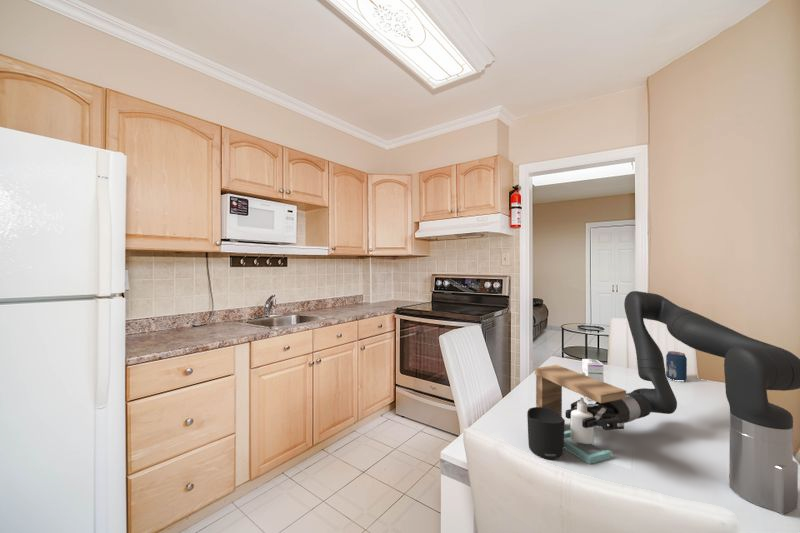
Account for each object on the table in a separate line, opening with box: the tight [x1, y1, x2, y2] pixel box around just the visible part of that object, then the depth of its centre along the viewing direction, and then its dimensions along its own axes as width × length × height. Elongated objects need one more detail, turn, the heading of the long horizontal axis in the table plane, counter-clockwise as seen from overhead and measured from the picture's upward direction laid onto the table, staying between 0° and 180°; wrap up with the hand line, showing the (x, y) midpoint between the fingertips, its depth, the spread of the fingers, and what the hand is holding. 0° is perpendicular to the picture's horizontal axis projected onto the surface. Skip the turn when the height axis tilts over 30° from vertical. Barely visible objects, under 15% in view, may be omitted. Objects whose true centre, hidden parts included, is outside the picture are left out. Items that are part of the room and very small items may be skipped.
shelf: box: [534, 364, 627, 418], centre depth 90 cm, size 22×9×19 cm, turn 20°
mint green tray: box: [563, 429, 613, 465], centre depth 88 cm, size 12×8×2 cm, turn 20°
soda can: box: [665, 350, 688, 381], centre depth 141 cm, size 7×7×12 cm
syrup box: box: [581, 358, 605, 402], centre depth 121 cm, size 6×6×14 cm
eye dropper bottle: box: [570, 397, 595, 445], centre depth 88 cm, size 4×6×12 cm
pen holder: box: [526, 406, 566, 461], centre depth 87 cm, size 9×9×10 cm
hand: (575, 419), depth 87 cm, fingers closed on eye dropper bottle, 5 cm apart
